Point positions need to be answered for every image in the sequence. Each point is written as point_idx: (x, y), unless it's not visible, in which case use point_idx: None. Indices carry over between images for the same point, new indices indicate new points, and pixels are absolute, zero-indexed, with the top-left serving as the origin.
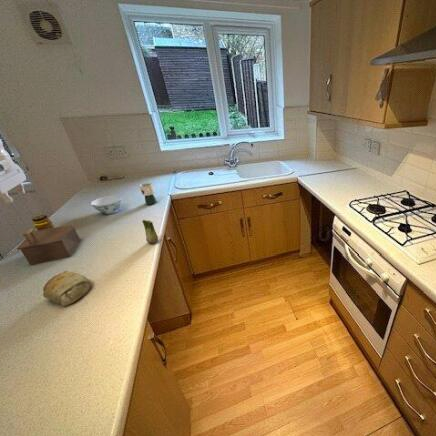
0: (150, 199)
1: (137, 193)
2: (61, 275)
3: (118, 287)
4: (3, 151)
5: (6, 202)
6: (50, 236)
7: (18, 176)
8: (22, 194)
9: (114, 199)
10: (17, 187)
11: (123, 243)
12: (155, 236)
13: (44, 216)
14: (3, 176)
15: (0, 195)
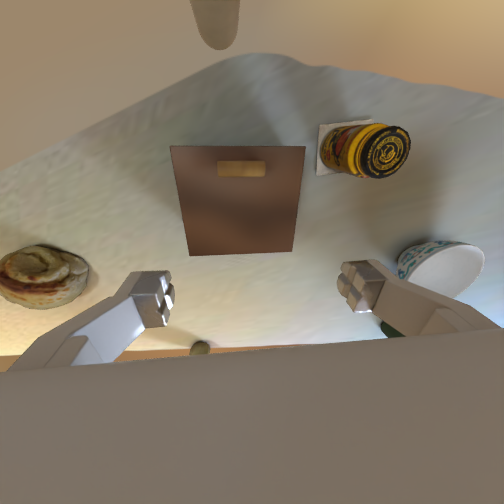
0: (389, 336)
1: (489, 290)
2: (26, 296)
3: None
4: None
5: (131, 275)
6: (227, 220)
7: None
8: (338, 280)
9: (454, 279)
10: (418, 304)
11: (216, 308)
12: None
13: (379, 174)
14: None
15: (42, 352)
